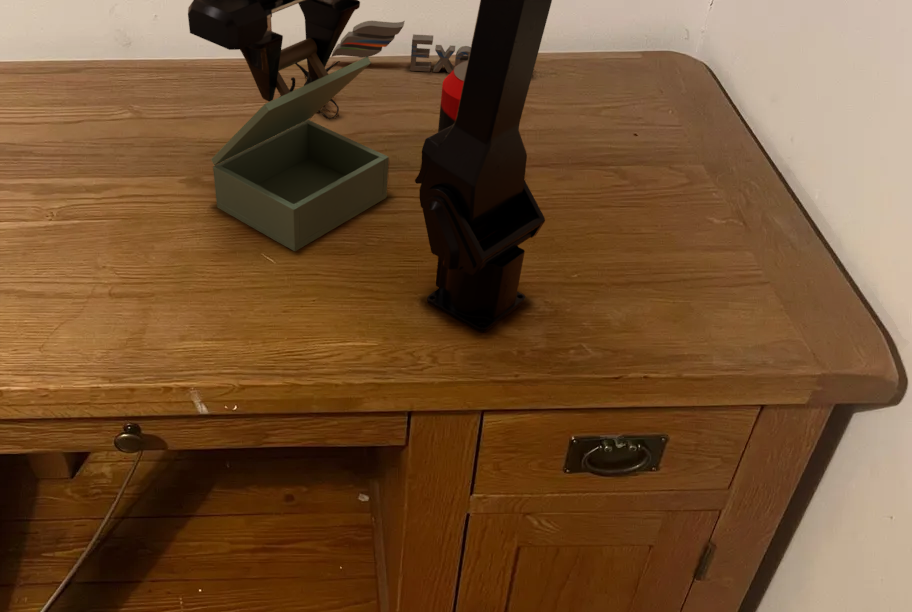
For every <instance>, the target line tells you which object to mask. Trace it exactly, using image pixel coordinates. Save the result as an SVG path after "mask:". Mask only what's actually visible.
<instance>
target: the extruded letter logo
mask: <svg viewBox="0 0 912 612" xmlns="http://www.w3.org/2000/svg"><path fill="white" fill-rule="evenodd" d="M404 26H405V20H403V21H398V22H390V21H379V20H366V21H363V22H360V23H358V24H356V25H355V26H353V27H352V31H348V32H347V33H346V34H345V35H344V36H343V37H342V38H341V40H340V43H337V44H336V45H335V47H334V49H333V51H332V54H331V56H330V58H333V57H337V56H338V57H339V56H342V57H343V56H344V57H355V58H356V57H357V58H365V57H368V58H369V57H373V56H375V55H378V54H379V53H381V52H382V50H383V48H386V47H388V46H389V45H390V44H391V43H392V41H394V40H395V37H396V35H399V33H400V32H401V31H402V29H403V28H404ZM433 43H434V35H433V34H431V35H430V34H428V35H426V34H414V33H413V34H412V38H411V51H410V67H409V71H412V72H428V73H430V72H431V68H432V62H431V61H417V59H419V58H421V59H429V58H430V53H431V48H424V47H418V45H427V46H432V45H433ZM470 49H471V46H469V45H463V46H460V47H459V48H458V49H457V50H456V45H449V47H448V48H447V49H446V50H445V49H444V47H443V45H442V44H435V49H434V51H435V53H436V54H437V56H438V57H439V59H438V61H436V62H435V64H434V65H433V69H432V72H433V73H439V72H440V71H441V69H442V68H443V67H444V69H445V70H446V72H447V73H448V74H450V73H451V72H452V71H453V70H454V68H455V67H456V66H457V65H458V64H460V63H462V62H465V61H468V59H469V54H470ZM454 53H455V59H454V65H453V63H452V62H451V60H450V58H451V57H452V55H454Z"/></svg>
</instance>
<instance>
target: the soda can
mask: <svg viewBox="0 0 912 612" xmlns="http://www.w3.org/2000/svg"><path fill="white" fill-rule="evenodd" d="M467 63H468V61H465V62H462V63H460V64H458V65H457V66H456V67H455V66H454V69H453V71H452V72H451V73H448V75H447V76H445V78H444V79H443V82H442V85H441V96H440V107H439V118H438V126H437V127H438V129H437V133H438V132H440V131H442V130H444V129H446V128H448V127H450V126H452V125H453V124H454V123H455V120H456V117H457V112H458V107H459V102H460V98H461V93H462V88H463V83H464V78H465V73H466V68H467Z"/></svg>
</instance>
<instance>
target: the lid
mask: <svg viewBox="0 0 912 612" xmlns="http://www.w3.org/2000/svg"><path fill="white" fill-rule="evenodd" d="M316 53H317V45H316V43H315V41H314V40H313V39H311V38H307V39H306V38H305V39H302V40H300V41H299V42H296V43H294V44H291V45H289V46H286V47H284V48H281V55H280V62H279V69H278V76H277V84H276V90H277V92H278V93H279V95H280V96H281V97H280V96H278V97H277V98H274V99H273V100H272V101H270V102H269V101H267V102H266V103H265V104H263V105H262V106H261V107H260V108H259V109H258V110H257V111H256V112H255V113H254V114H253V115H252V116H251V117H250V118H249V119H248V121H246V123H245V124H244V125H243V126H241V127H240V129H239V130H237V132H236V133H235V134H234V135H233V136H232V137H231V138H230V139H229V140H228V141H227V142H226V143H225V144H224V145H223V146H222V147H221V148H220V149H219V150H218V151H217V152H216V153H215V154H214V155H213V157H211V158H210V161H211V162H212V164H213V166H215V165H217V164H219V163H221V162H223V161H225V160H227V159H229V158H231V157H233V156H235V155H237V154H239V153H241V152H243V151H245V150H247V149H249V148H251V147H253V146H255V145H257V144H260V143H262V142H264V141H266V140H268V139H270V138H272V137H274V136H276V135H278V134H280V133H282V132H284V131H286V130H288V129H290V128H292V127H294V126H296V125H298V124H300V123H302V122H304V121H306V120H310V119H311V118H312V117H313V116H315V115H316V114H317V113H318V112H319V110H320V111H321V110H322V108H323V107H324V105H325V106H326V105H327V104H329V102H331V101H330V100H331V99H332V100H333V99H334V97H335V96H337V95H338V94H339V93H340V92H341V91H342V90H343V89H344V88H345V87H347V86H348V84H350V83H351V82H352V81H353V80H354V79H356V77H358V76H359V75H360V74H361V73H362V72H363V71H364V70H365V69H366V68H367V67H369V66H370V65H371V64H372V61H371V60H370V58H369V57H362V58H361V59H359V60H357V61H354V62H352V63H351V64H348V65H346V66H344V67H341V68H340V69H339V68H338V69H337V70H335V71H332V72H331V73H328V72H327V71H326V69H327V68H326V67H325V68H324V66H323V64H322V62H321V61H320V59H319V57H318V55H317V54H316ZM307 58H308V60H309V61H310V63H311V65H312V67H313V68H314V70H315V72H316V74H317V75H318V77H319V79H318V80H316V81H313V82H311V83H309V84H307V85H305V86H304V85H303V86H301V87H298V88H296V89H294V90H293V91H292V92H290V88H289V86H288V85H287V83H286V81H285V80H284V78H283V77H282V75H281V73H280V71H282V70H284V69H287V68H289V67H291V66H294V65H296V63H298V64H299V63H300V62H302V61H305V60H307Z"/></svg>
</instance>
